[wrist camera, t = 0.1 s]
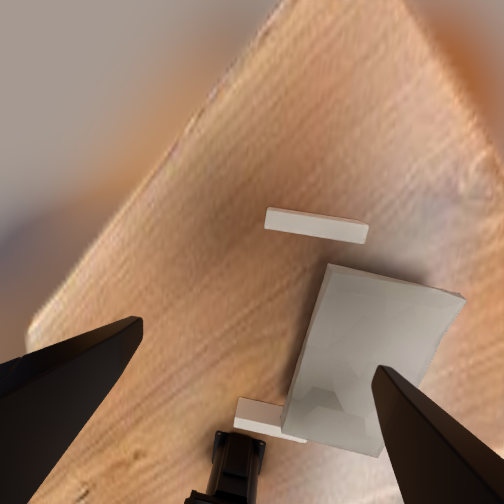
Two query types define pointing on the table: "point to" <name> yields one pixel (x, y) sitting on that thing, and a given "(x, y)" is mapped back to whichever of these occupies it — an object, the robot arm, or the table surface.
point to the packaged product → (361, 353)
